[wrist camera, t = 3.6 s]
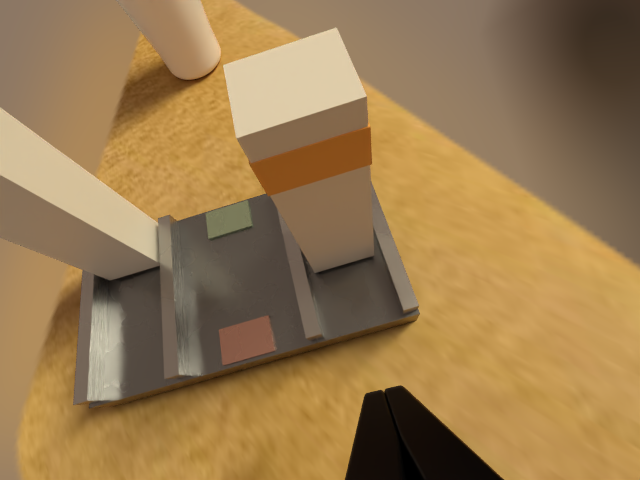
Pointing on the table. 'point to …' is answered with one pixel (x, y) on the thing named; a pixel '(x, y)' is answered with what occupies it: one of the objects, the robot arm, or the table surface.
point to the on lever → (68, 209)
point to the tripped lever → (309, 143)
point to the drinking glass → (177, 34)
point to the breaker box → (228, 304)
